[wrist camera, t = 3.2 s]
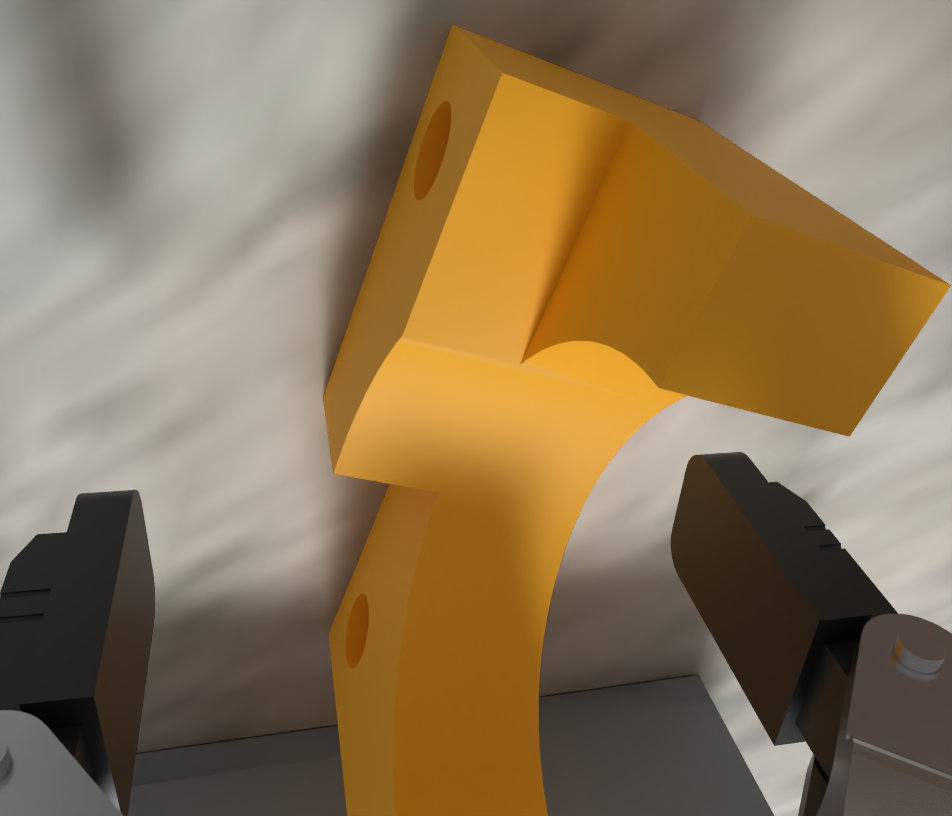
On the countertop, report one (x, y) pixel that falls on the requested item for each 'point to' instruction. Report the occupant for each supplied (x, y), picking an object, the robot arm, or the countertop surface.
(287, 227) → the countertop surface
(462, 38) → the pipe clamp
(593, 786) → the tray
